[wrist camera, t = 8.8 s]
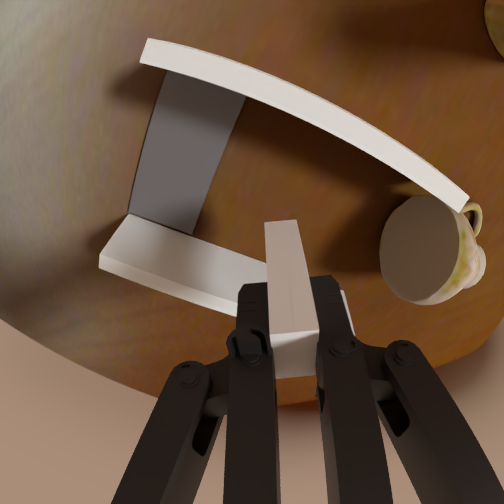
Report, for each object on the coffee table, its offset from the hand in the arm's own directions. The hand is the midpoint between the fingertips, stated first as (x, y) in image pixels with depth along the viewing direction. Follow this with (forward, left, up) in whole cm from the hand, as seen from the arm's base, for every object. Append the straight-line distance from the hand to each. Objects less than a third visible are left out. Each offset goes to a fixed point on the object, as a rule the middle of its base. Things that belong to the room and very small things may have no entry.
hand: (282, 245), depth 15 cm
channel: (0, 0, -6) cm, 6 cm away
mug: (+13, +3, -6) cm, 14 cm away
